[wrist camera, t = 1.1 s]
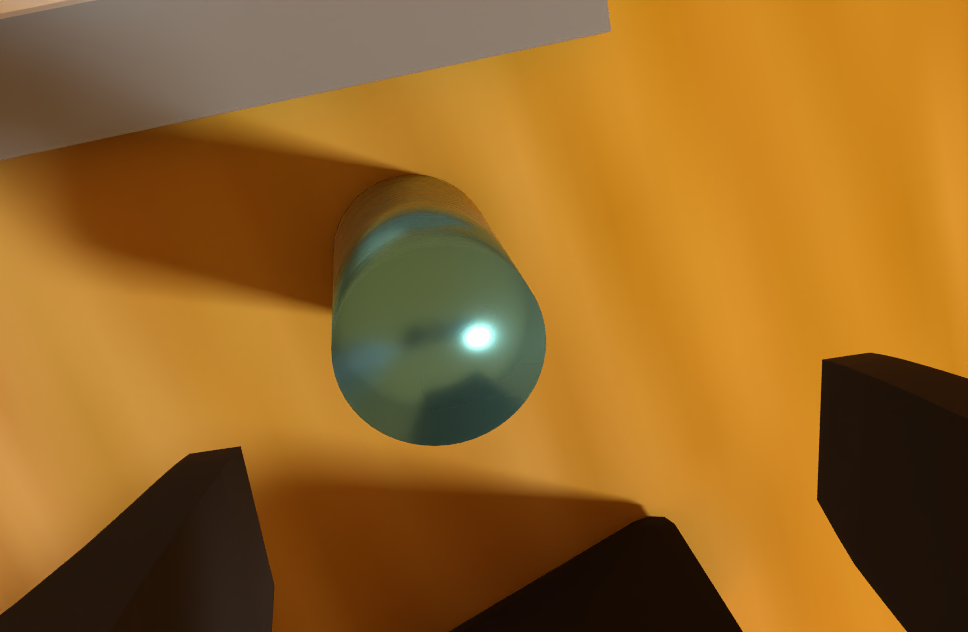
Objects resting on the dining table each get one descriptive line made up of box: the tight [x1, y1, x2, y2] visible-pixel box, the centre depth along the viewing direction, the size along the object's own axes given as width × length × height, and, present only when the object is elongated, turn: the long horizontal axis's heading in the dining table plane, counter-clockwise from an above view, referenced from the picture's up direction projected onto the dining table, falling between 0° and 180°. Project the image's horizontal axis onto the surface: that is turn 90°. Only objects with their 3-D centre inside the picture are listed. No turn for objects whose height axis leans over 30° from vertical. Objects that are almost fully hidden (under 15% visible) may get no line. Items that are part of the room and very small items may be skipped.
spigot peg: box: [331, 175, 546, 446], centre depth 18 cm, size 4×4×6 cm
